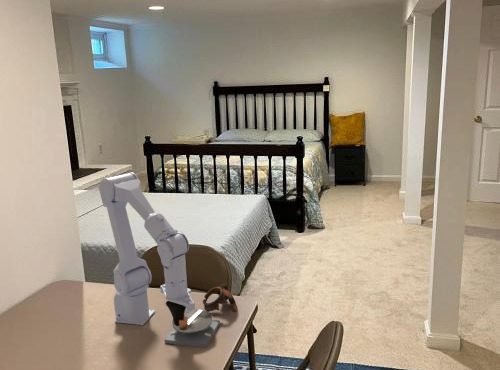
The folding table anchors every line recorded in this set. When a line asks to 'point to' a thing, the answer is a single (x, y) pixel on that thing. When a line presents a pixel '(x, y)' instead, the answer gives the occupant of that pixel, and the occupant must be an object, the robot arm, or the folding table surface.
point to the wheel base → (193, 336)
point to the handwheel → (193, 322)
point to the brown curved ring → (219, 298)
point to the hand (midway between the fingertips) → (179, 324)
